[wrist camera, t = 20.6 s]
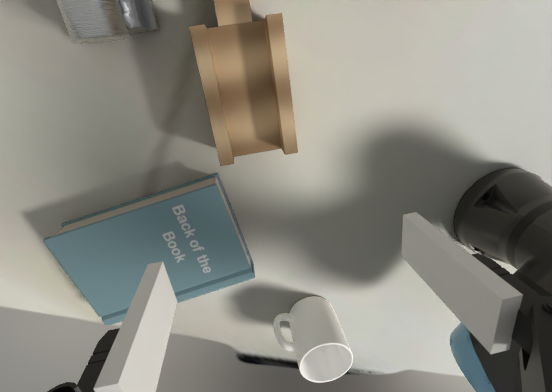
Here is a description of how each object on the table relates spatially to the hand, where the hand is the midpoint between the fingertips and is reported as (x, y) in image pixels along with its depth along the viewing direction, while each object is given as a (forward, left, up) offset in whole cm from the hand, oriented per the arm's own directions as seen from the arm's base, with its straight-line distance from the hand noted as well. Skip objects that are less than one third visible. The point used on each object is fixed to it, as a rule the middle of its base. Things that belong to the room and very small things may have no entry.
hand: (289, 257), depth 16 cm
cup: (-3, +31, -27) cm, 41 cm away
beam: (0, -10, -27) cm, 29 cm away
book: (+16, +13, -27) cm, 34 cm away
